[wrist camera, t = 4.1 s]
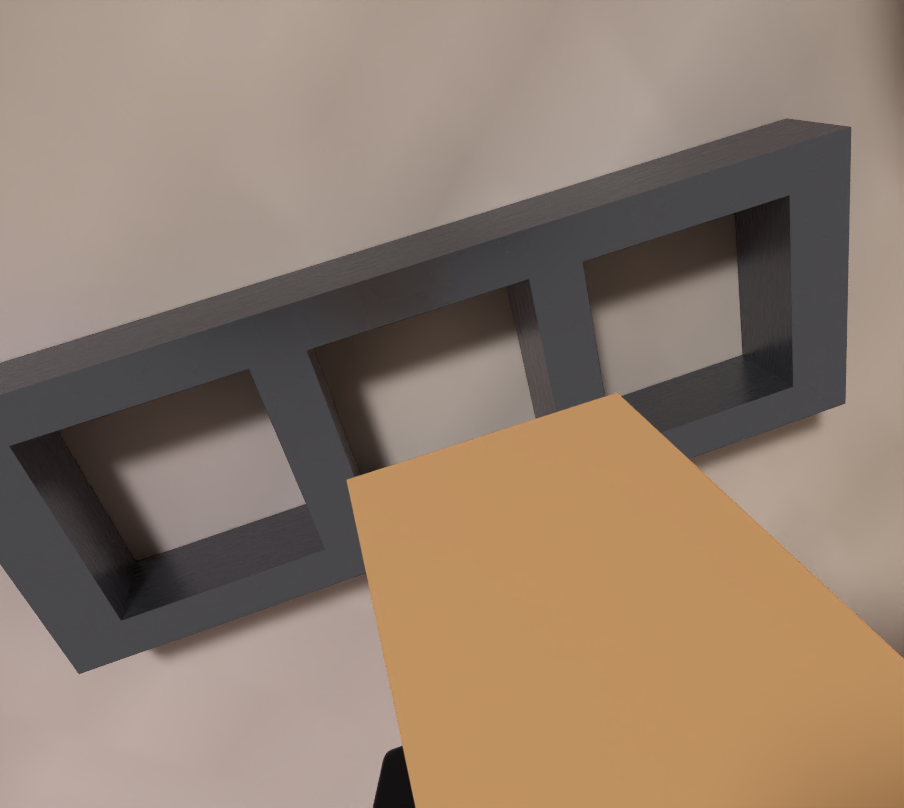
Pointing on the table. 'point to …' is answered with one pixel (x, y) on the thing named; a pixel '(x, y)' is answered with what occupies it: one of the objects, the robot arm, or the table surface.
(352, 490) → the orange peg
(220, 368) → the rail
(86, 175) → the table surface
